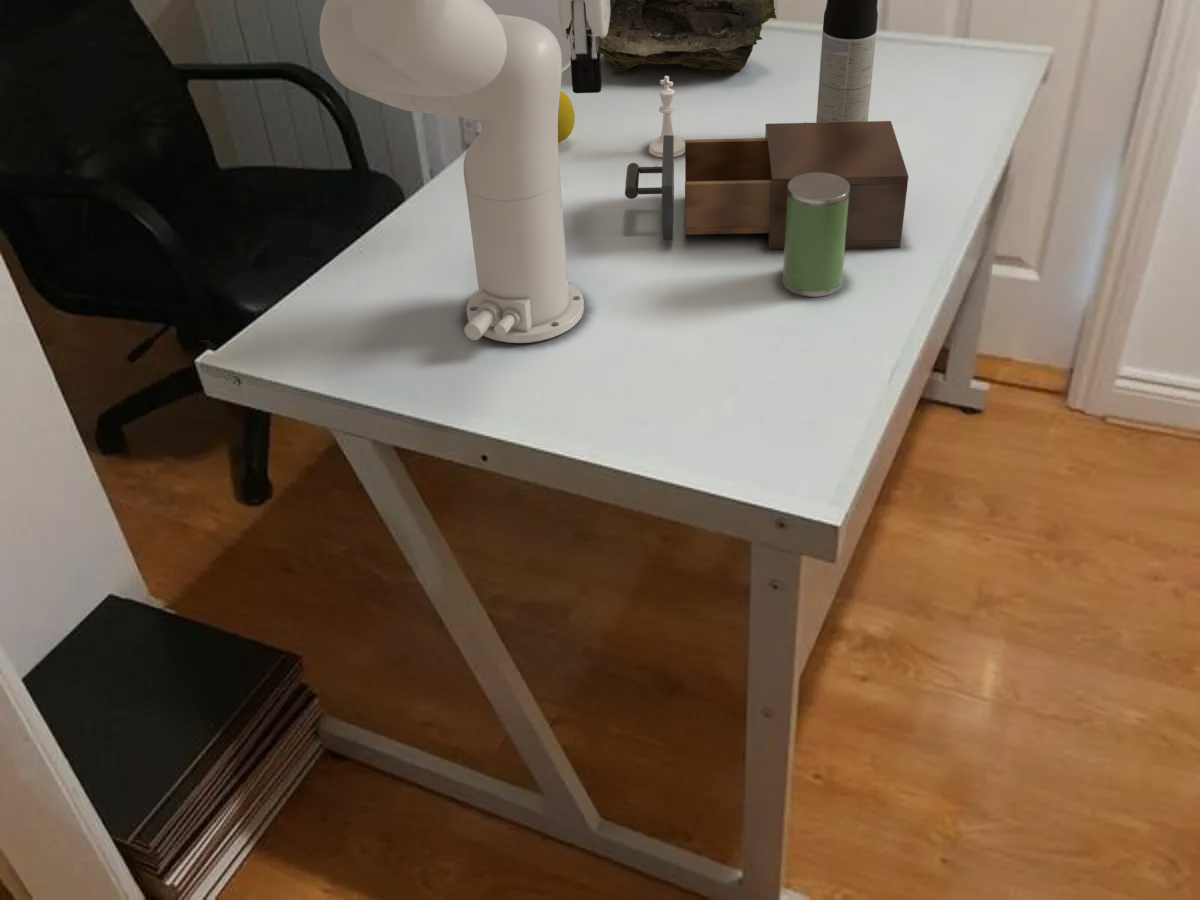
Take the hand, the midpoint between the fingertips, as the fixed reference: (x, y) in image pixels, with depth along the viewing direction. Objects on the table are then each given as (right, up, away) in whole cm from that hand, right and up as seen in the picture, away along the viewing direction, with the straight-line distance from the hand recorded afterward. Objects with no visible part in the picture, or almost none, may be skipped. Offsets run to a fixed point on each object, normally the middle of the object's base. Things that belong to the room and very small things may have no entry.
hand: (587, 89), depth 137 cm
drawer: (+14, -12, +8) cm, 20 cm away
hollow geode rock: (+14, +17, +47) cm, 51 cm away
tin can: (+25, -22, -4) cm, 33 cm away
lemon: (-5, +1, +28) cm, 28 cm away
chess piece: (+10, -1, +25) cm, 27 cm away
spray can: (+33, 0, +24) cm, 41 cm away
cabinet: (+29, -13, +8) cm, 32 cm away
